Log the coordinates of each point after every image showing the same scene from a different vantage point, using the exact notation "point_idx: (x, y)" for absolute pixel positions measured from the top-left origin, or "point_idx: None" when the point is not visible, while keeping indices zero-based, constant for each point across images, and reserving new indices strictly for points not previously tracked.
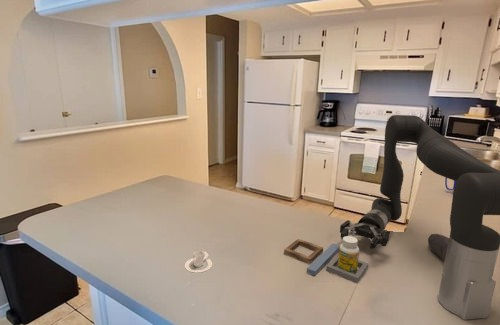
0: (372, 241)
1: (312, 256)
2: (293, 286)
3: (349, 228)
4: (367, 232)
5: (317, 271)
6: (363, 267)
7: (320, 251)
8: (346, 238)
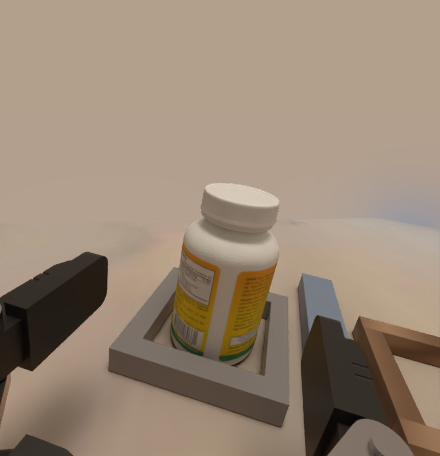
0: (85, 258)
1: (370, 336)
2: (316, 258)
3: (343, 444)
4: (44, 448)
5: (300, 291)
6: (145, 315)
7: (389, 412)
8: (261, 197)
